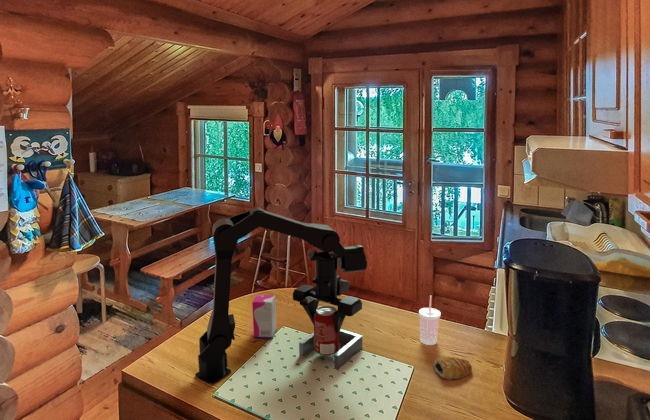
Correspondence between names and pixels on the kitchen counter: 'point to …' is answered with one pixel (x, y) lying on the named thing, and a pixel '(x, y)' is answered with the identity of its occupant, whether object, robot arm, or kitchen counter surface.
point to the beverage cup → (429, 324)
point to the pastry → (452, 367)
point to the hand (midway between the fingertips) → (326, 329)
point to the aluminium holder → (342, 356)
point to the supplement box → (264, 316)
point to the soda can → (325, 331)
